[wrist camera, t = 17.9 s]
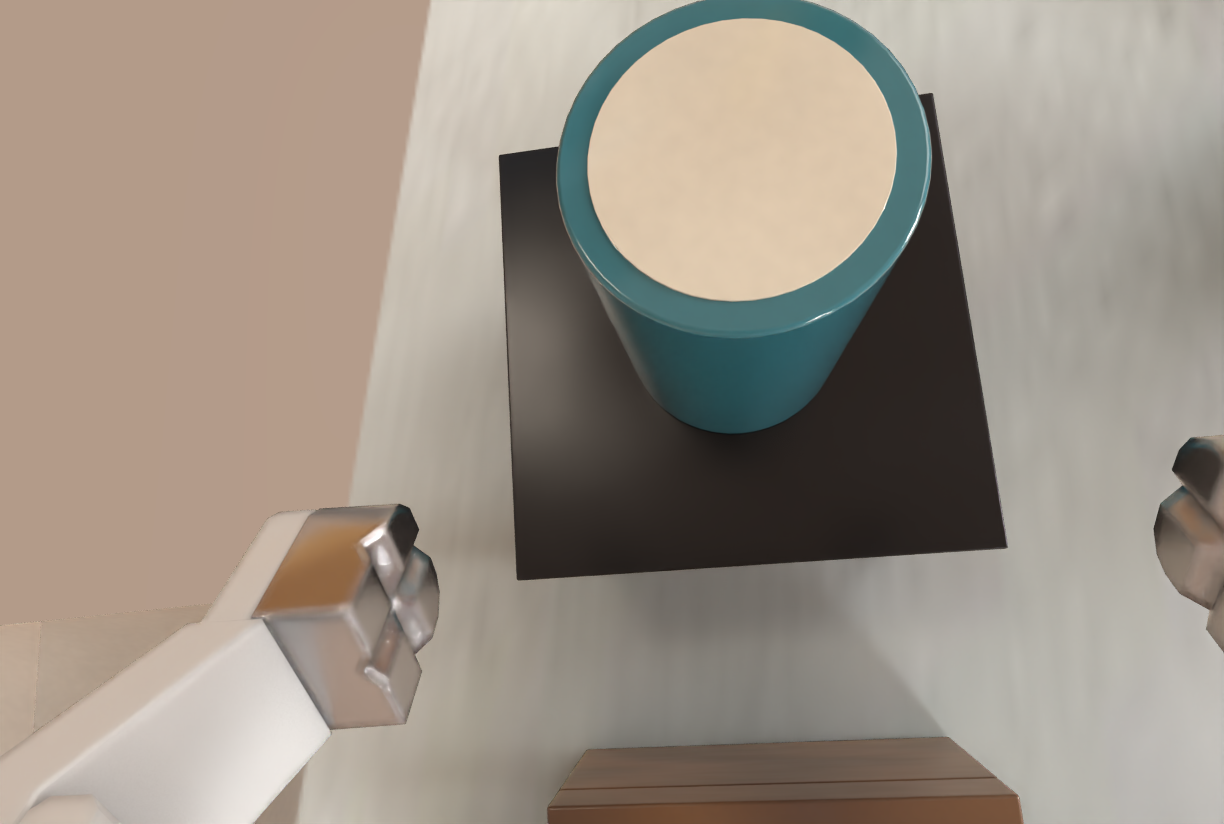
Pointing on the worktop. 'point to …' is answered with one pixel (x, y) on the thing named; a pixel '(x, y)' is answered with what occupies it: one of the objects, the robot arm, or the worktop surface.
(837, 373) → the dark brown wooden table
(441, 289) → the worktop surface
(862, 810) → the brown display stand
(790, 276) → the cup
